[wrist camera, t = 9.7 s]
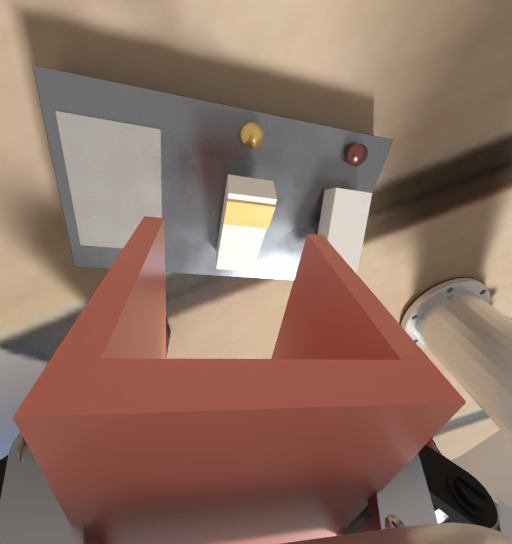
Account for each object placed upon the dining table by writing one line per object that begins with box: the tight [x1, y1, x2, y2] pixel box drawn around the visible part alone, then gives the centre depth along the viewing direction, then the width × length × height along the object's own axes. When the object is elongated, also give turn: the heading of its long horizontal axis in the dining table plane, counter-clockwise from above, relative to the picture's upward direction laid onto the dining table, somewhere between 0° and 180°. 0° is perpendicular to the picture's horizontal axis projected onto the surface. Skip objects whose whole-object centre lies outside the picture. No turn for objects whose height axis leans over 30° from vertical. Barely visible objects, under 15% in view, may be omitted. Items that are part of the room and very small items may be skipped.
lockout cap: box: [13, 216, 466, 544], centre depth 8 cm, size 6×9×6 cm, turn 170°
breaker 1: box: [216, 174, 277, 271], centre depth 20 cm, size 3×8×2 cm, turn 170°
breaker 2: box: [318, 188, 372, 274], centre depth 22 cm, size 3×8×2 cm, turn 170°
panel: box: [33, 65, 393, 280], centre depth 23 cm, size 25×14×4 cm, turn 80°
